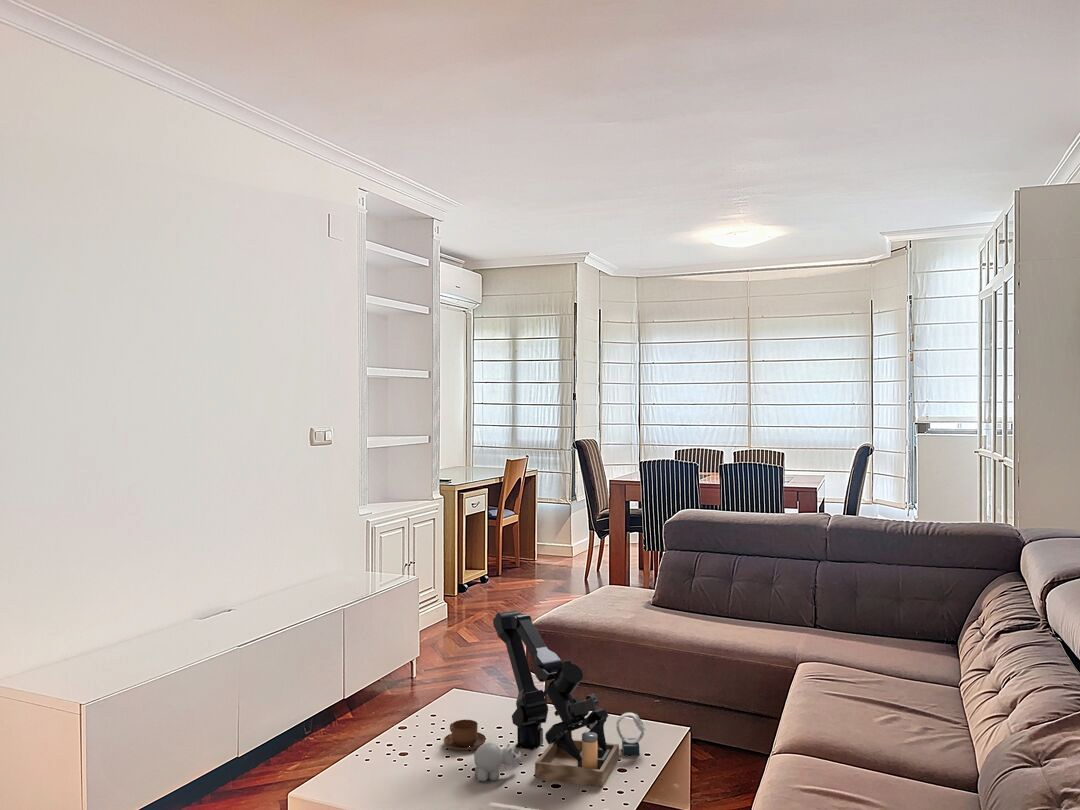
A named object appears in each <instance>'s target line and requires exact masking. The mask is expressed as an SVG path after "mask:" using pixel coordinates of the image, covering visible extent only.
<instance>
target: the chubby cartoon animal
mask: <svg viewBox="0 0 1080 810" xmlns="http://www.w3.org/2000/svg"><path fill="white" fill-rule="evenodd" d="M475 750H476V751H475V752H474V753H473V757H474V758H473V761H474V764H475V769H474V775H475V777H476V779H477V781H478V782H486V781H487V780H488V779H489V780H490V781H493V782H495V781H498V780H499V778H500V771H499V770H500V768H501V767H502V765H503V766H510V765H511V766H512V767H517V766H519V764H520V762H521V760H520V759H521V757H522V753H521V751H518V753H516V752H515V751H514V749H513V748H511V747H510V743H508V744H507V746H506V747H504V748H503V749H501V748H500V747H499V745H497V744H495V743H492V742H485V743H484V744H482V745H481V746H480V747H478V748H476V749H475Z"/></svg>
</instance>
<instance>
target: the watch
mask: <svg viewBox="0 0 1080 810" xmlns="http://www.w3.org/2000/svg"><path fill="white" fill-rule="evenodd" d="M627 717H632V720H633V722H634V724H635V726H636V727H637V729H638V731H640V732H641V733H640V735H639V736H638V737H636V738H635V737H631V738H628V737H627V738H625V736H624V734H623V733H622V731H621V729H620V725H619V724H620V722H621V721H622V720H623V719H624V718H627ZM645 731H646V728H645V725H644V723H643V722H642V720H641V718H640V716H639V715H638V714H637V713H634V712H624V713H622V714H621V715H620V716H619V717H618V718H617V720H616V732H617V733H618V736H619V738H620V739H621V749H622V752H623V756H640V754H641V753H640V743H639V742H640V741H642V739H644V736H645Z"/></svg>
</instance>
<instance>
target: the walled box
mask: <svg viewBox="0 0 1080 810" xmlns="http://www.w3.org/2000/svg"><path fill="white" fill-rule="evenodd" d="M572 740H573V742H574V743H575V745H576V747H577V749H578V751H579V753H580V755H581V758H582V739H577V738H572ZM553 744H554V743H552V744H548V745H547V748H545V750H544V751H543V752H542V754H541V755H540V756H538V758H537V760H536V761H535V762H534V779H539V780H546V781H555V782H561V783H567V784H575V785H581V786H582V785H583V786H590V787H597V788H603V787H604V786H605V784H606V782H607V781H608V779H609V777H610V776H611V774H612V772H613V770H614V769H615V767H616V765H617V763H618V761H619V760H620V745H619V744H618V743H611V742H610V743H609V742H606V745H607V750H606V751H603V750H602V748H601V747H600V746H599V745H598V743H597V754H598V769H591V768H583V767H582V760H581V761H578V760H576V759H575V758H574V757H572V756H571V755H570V754H568V753H567V752H565V751H564V750H562V749H561V748H559V747H557V746H553Z"/></svg>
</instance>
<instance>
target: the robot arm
mask: <svg viewBox="0 0 1080 810" xmlns="http://www.w3.org/2000/svg"><path fill="white" fill-rule="evenodd" d="M492 624H493V629H494V630H495V632H496V635H497V637H498V638H499V639H500V640H501V641H502V642H503V643H504V644H505V647H506V650H507V654H508V657H509V661H510V662H509V663H510V665H511V668H512V672H513V676H514V679H515V683H516V687H517V690H518V695H517V698H516V701H515V702H516V703H515V707H516V709H515V710H514V712H513V713H512V715H511V720H512V724H513V725H514V726H515V727H516V726H517V731H516V732H517V743H516V744H515V748H519V749H524V750H525V749H526V750H534V749H538V747H540V746H541V745H542V744H543V743H544V737H545V740H546V742H547V744H548V745H550V744H552V743H554V744H553V746H557V747H559V748H561V749H562V750H564V751H565V752H567V753H568V754H570V755H571V756H572V757H574V758H575V759H576V760H578V761H581V760H582V758H581V755H580V753H579V751H578V749H577V747H576V745H575V743H574V742H573V740H572V739H573V735H572V733H573V732H574V731H576V730H578V729H581V728H585V727H586V728H587V729H589V730H588V732H594V733H596V734H597V743H598V745H599V746H600V747H601V748H602V750H603V751H606V750H607V745H606V743H607V742H606V737H605V729H604V727H605V723H606V721H607V719H608V717H609V716H610V715H609V714H608V712H607V710H606V709H605V708H603V707H601V708H597V706H599V704H600V703H599V699H598V697H597V696H596V695H595V693H591V694H589V695H586V696H585V700H582V701H581V699H580V698H579V697H574V696H573V694H572V693H573V692H574V691H575V689H576V688H577V687H578V685H579V684H580V683H581V681H582V680H583V678H584V674H583V671H582V669H581V668H580V667H579V666H578V665H577V664H574V663H572V661H571V660H570V659H569V660H564V661H562V660H561V658H560V657H559V656H558V654H557V653H555V652H554V651H552V650H550V649H548V647H547V645H546V644H545V642H544V640H543V638H542V637H541V635H540V633H539V632H538V630H537V628H536V627H535V625H534V623H533V621H532V617H531V615H530V614H529V613H521V612H520V611H518V610H511V611H503V612H498V613H496V614H495V616H494V618H493V620H492ZM524 646H525V647H526V650H527V651H528V653H529V655H530V656H531V658H532V660H533V662H532V670H533V672H534V676H535V677H536V678H537V680H538V682H539V683H546V682H549V681H551V682H549V684H546V685H544V689H539V688H537V687H536V685H535V682H534V678H533V676H532V672H531V668H530V664H529V662H528V661H529V660H528V656H527V654H526V650H525V647H524ZM547 696H548V698H549V699H550V701H551V704H552V705H553V707H554V709H555V712H554V715H555V717H557V716H559V718H560V720H561V721H560V722H557V723H554V724H553V725H552V726H551V727H550V728H549V729H548V730H547V731H546V732H545V736H544V728H543V727H542V724H546V723H547V718H548V713H549V706H548V701H547V699H546V697H547ZM589 712H590V714H589Z"/></svg>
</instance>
